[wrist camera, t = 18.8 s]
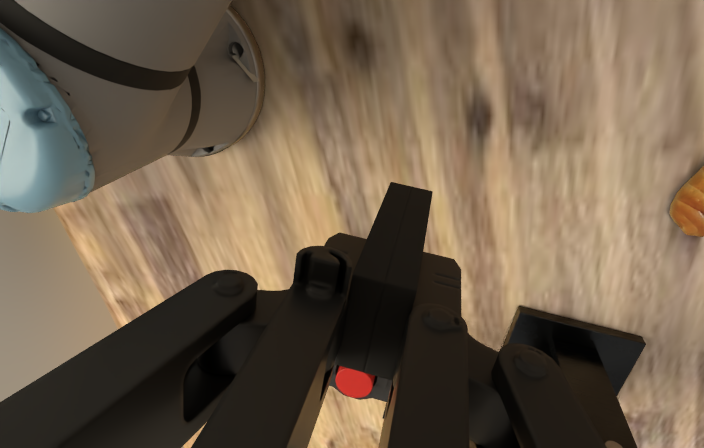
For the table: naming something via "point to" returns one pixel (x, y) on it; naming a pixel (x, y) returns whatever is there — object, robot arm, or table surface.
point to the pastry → (690, 206)
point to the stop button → (354, 382)
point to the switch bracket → (585, 364)
